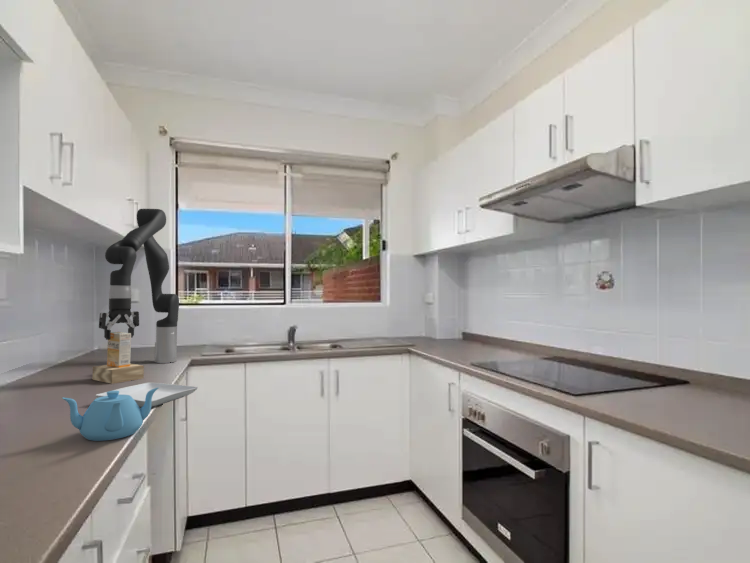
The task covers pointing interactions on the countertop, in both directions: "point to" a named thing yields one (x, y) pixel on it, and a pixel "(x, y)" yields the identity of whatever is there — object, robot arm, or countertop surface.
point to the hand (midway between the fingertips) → (119, 338)
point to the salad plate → (160, 395)
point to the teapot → (110, 416)
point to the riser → (117, 373)
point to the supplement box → (119, 349)
